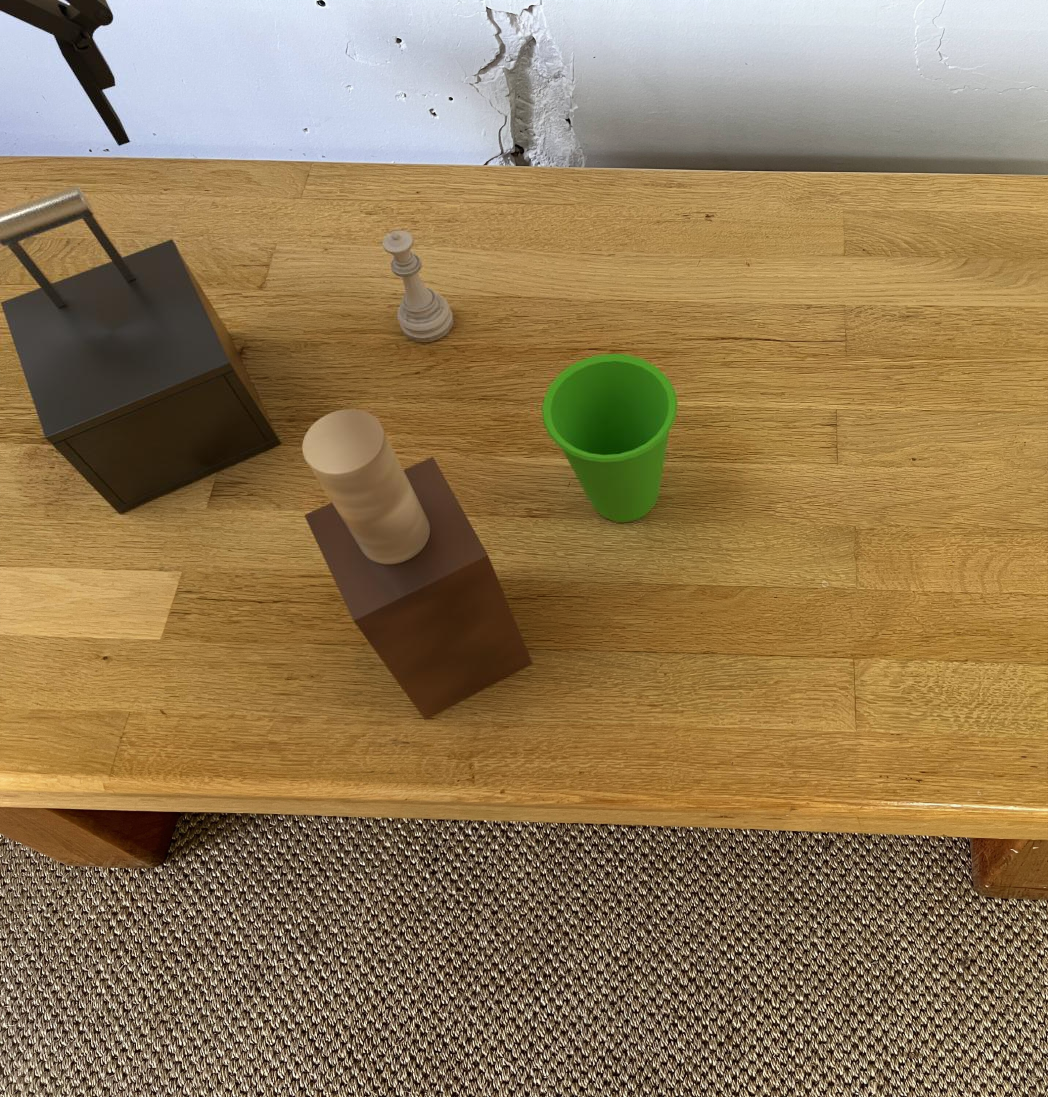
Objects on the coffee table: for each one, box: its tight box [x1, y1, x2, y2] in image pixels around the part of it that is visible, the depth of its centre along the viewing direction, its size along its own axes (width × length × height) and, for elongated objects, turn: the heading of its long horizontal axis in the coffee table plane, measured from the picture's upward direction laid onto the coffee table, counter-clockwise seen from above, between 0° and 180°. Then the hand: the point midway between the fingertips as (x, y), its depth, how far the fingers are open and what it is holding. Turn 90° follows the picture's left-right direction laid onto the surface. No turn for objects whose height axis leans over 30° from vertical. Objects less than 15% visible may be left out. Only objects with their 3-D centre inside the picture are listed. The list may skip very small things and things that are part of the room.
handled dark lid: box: [0, 185, 234, 445], centre depth 70 cm, size 14×13×9 cm
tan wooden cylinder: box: [301, 408, 430, 564], centre depth 54 cm, size 4×4×9 cm
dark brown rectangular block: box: [304, 456, 533, 721], centre depth 65 cm, size 8×8×15 cm
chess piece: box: [381, 230, 454, 343], centre depth 82 cm, size 4×4×10 cm
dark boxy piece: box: [51, 255, 282, 515], centre depth 78 cm, size 14×13×9 cm
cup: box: [541, 353, 679, 523], centre depth 73 cm, size 9×9×11 cm
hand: (13, 169), depth 66 cm, fingers open, 13 cm apart
